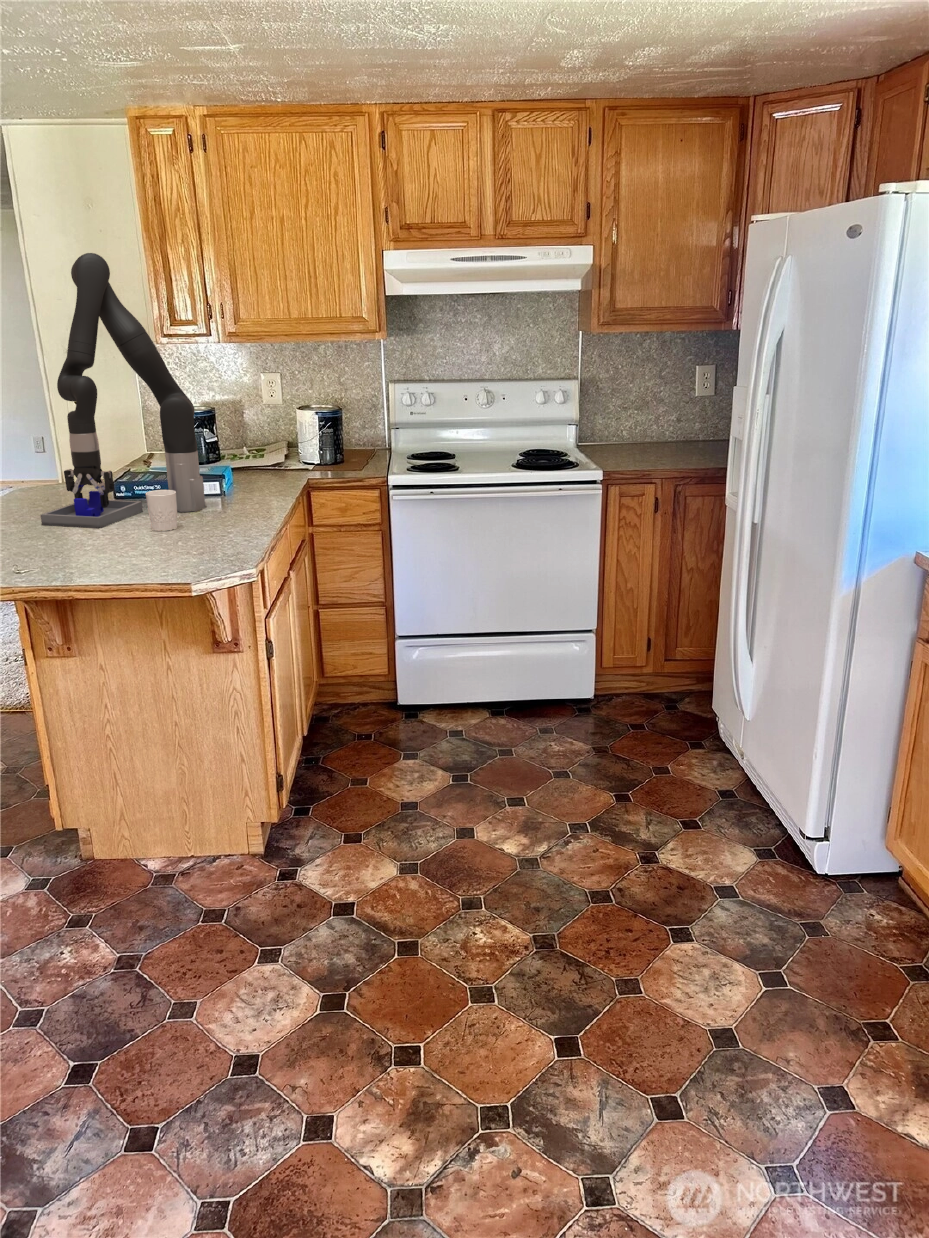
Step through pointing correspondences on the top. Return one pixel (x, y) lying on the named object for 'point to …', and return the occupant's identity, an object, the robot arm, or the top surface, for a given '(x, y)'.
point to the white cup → (162, 509)
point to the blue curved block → (89, 505)
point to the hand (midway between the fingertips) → (92, 506)
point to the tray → (110, 515)
